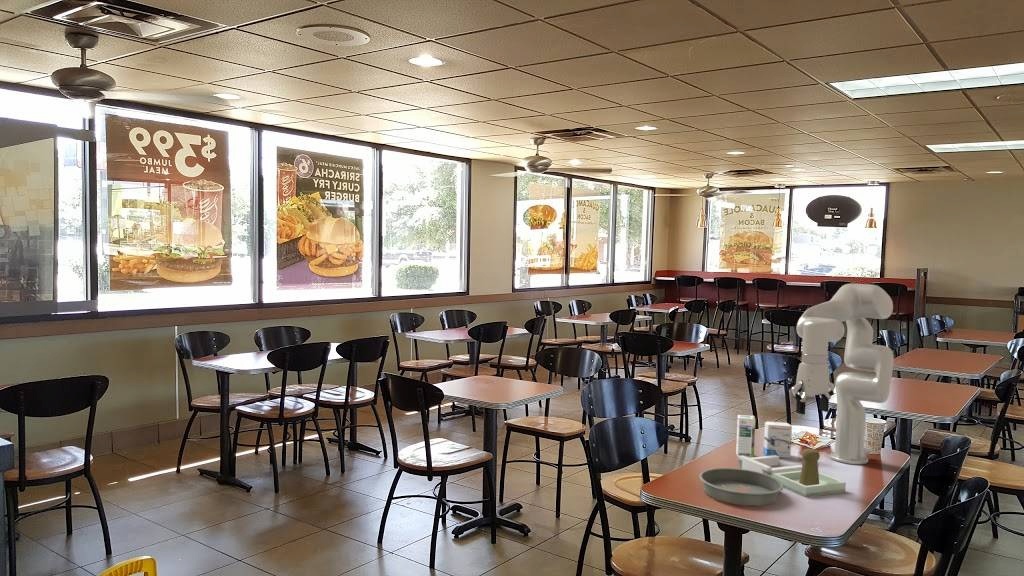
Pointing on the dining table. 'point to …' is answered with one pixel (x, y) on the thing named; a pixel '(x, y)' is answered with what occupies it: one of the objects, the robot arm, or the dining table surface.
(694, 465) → the dining table surface
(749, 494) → the cake pan
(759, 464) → the dock
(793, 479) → the tray
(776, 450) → the ink box
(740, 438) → the syrup box
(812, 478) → the cork
